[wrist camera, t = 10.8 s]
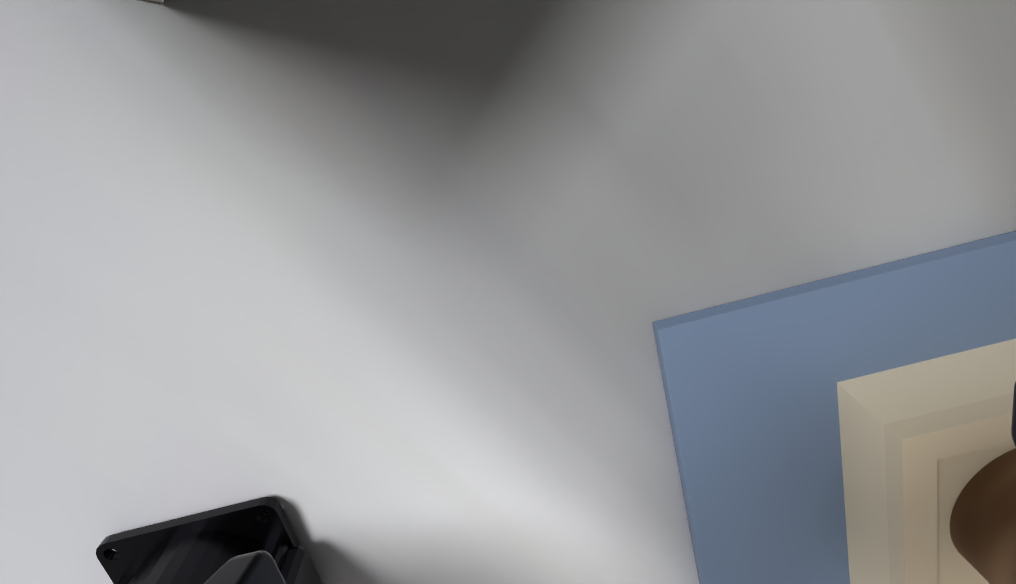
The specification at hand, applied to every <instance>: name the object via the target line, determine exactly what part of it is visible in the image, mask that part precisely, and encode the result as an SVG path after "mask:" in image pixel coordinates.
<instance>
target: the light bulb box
mask: <svg viewBox="0 0 1016 584" xmlns="http://www.w3.org/2000/svg"><path fill="white" fill-rule="evenodd" d="M138 1H143V2H147V3H152V4H157V5H161V4H163V2H164V0H138Z"/></svg>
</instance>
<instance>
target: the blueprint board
mask: <svg viewBox="0 0 1016 584" xmlns="http://www.w3.org/2000/svg"><path fill="white" fill-rule="evenodd" d="M652 324H653V329H654V335H655V340H656V346H657V351H658V356H659V362H660V367H661V373H662V378H663V384H664V389H665V395H666V400H667V406H668V411H669V417H670V422H671V428H672V433H673V439H674V444H675V450H676V455H677V461H678V466H679V472H680V477H681V483H682V488H683V494H684V499H685V505H686V510H687V516H688V521H689V527H690V532H691V538H692V543H693V549H694V554H695V559H696V565H697V570H698V576H699V581H700V584H990V583H989V582H988V581H987V580H986V579H985V578H984V577H983V576H982V575H981V574H980V573H979V572H978V571H977V570H976V569H975V568H974V567H973V566H972V565H971V564H970V563H969V562H968V561H967V560H966V559H965V558H964V557H963V556H962V555H961V554H960V553H959V552H958V551H957V549H956V548H955V546H954V544H953V542H952V539H951V535H950V517H951V513H952V510H953V507H954V504H955V502H956V500H957V498H958V496H959V495H960V493H961V491H962V490H963V488H964V487H965V486H966V484H967V483H968V482H969V481H970V480H971V479H972V478H973V476H974V475H975V474H976V473H978V472H979V471H980V470H981V469H982V468H983V467H984V466H986V465H987V464H988V463H990V462H991V461H993V460H994V459H996V458H997V457H999V456H1001V455H1002V454H1004V453H1006V452H1008V451H1010V450H1013V449H1015V448H1016V447H1015V444H1014V442H1013V439H1012V435H1011V425H1012V410H1013V395H1014V385H1015V382H1016V231H1013V232H1009V233H1005V234H1001V235H998V236H994V237H990V238H986V239H982V240H978V241H974V242H970V243H966V244H962V245H958V246H954V247H950V248H946V249H942V250H938V251H934V252H930V253H926V254H922V255H918V256H914V257H910V258H906V259H902V260H898V261H894V262H890V263H886V264H882V265H878V266H874V267H870V268H867V269H863V270H859V271H855V272H851V273H847V274H843V275H839V276H835V277H831V278H827V279H823V280H819V281H815V282H811V283H807V284H803V285H799V286H795V287H791V288H787V289H783V290H779V291H775V292H771V293H767V294H763V295H759V296H755V297H751V298H747V299H743V300H739V301H736V302H732V303H728V304H724V305H720V306H716V307H712V308H708V309H704V310H700V311H696V312H692V313H688V314H684V315H680V316H676V317H672V318H668V319H664V320H660V321H656V322H652Z"/></svg>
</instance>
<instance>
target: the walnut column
mask: <svg viewBox="0 0 1016 584" xmlns="http://www.w3.org/2000/svg"><path fill="white" fill-rule="evenodd" d="M950 535H951V539H952V542H953V544H954V546H955V548H956V549H957V551H958V552H959V553H960V554H961V555H962V556H963V557H964V558H965V559H966V560H967V561H968V562H969V563H970V564H971V565H972V566H973V567H974V568H975V569H976V570H977V571H978V572H979V573H980V574H981V575H982V576H983V577H984V578H985V579H986V580H987V581H988V582H989V583H990V584H1016V448H1015V449H1013V450H1010V451H1008V452H1006V453H1004V454H1002V455H1001V456H999V457H997V458H996V459H994V460H993V461H991V462H990V463H988V464H987V465H986V466H984V467H983V468H982V469H981V470H980V471H979V472H978V473H976V474H975V475H974V476H973V478H972V479H971V480H970V481H969V482H968V483H967V484H966V486H965V487H964V488H963V490H962V491H961V493H960V495H959V496H958V498H957V500H956V502H955V504H954V507H953V510H952V513H951V517H950Z"/></svg>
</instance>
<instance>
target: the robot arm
mask: <svg viewBox="0 0 1016 584" xmlns="http://www.w3.org/2000/svg"><path fill="white" fill-rule="evenodd" d="M1011 435H1012V439H1013V442H1014V444H1015V447H1016V382H1015V385H1014V395H1013V410H1012V425H1011ZM261 511H266V512H269V513H270V514H271V515H265V514H263V513H262V512H261ZM112 549H114V550H116V551H117V552H116V551H114V550H112ZM96 555H97V558H98V560H99V561H100V563H101V564H102V566H103V567H104V569H105V571H106V572H107V574H108V575H109V577H110V578H111V580H112V582H113V583H114V584H322V582H321V579H320V577H319V575H318V573H317V571H316V569H315V567H314V565H313V563H312V560H311V558H310V556H309V554H308V552H307V550H305V549H304V548H303V547H302V546H300V544H299V541H298V539H297V537H296V535H295V533H294V531H293V529H292V527H291V525H290V523H289V521H288V518H287V516H286V514H285V512H284V510H283V508H282V506H281V504H280V503H279V502H278V501H277V500H275V499H273V498H269V497H264V498H259V499H255V500H251V501H246V502H242V503H238V504H234V505H230V506H226V507H222V508H218V509H214V510H210V511H206V512H202V513H198V514H194V515H190V516H186V517H182V518H178V519H174V520H170V521H166V522H162V523H158V524H153V525H149V526H145V527H141V528H137V529H133V530H129V531H125V532H121V533H117V534H113V535H110V536H108V537H106V538H105V539H104V540H103V541H102V543H101V544H100V545H99V547H98V548H97V550H96Z"/></svg>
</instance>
